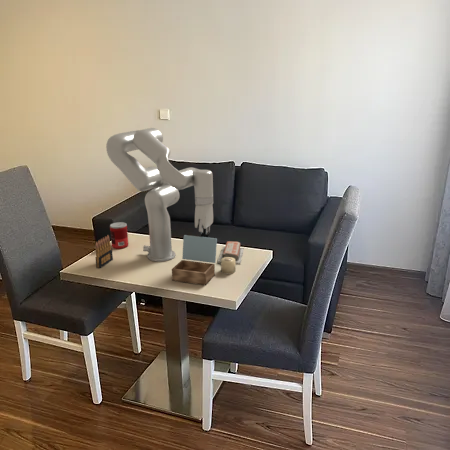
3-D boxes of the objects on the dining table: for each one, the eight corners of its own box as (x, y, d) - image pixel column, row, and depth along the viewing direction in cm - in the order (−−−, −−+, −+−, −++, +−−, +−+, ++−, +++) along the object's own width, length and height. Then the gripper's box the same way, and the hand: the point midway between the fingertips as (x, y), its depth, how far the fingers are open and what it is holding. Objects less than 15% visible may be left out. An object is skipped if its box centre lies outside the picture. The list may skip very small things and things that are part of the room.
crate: (172, 280, 190) (171, 269, 189) (182, 271, 199) (182, 259, 198) (205, 285, 186) (205, 273, 184) (214, 275, 195) (214, 264, 193)
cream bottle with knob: (219, 272, 197) (218, 261, 195) (223, 267, 202) (223, 255, 201) (232, 274, 195) (232, 262, 194) (237, 269, 201) (237, 257, 199)
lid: (183, 235, 197) (184, 235, 198) (182, 259, 198) (183, 258, 199) (216, 238, 192) (217, 238, 193) (214, 263, 193) (215, 262, 194)
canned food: (131, 244, 230) (129, 223, 227) (121, 250, 223) (119, 228, 220) (118, 242, 233) (116, 221, 230) (108, 248, 226) (106, 226, 223)
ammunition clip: (109, 259, 213) (107, 233, 209) (113, 259, 213) (110, 234, 209) (96, 268, 203) (93, 241, 200) (99, 268, 203) (97, 242, 199)
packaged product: (222, 240, 222) (243, 240, 221) (222, 249, 224) (243, 250, 222) (217, 254, 205) (240, 254, 204) (217, 264, 207) (240, 265, 205)
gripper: (202, 195, 203) (203, 235, 209) (188, 204, 190) (190, 247, 196) (218, 196, 201) (219, 237, 207) (206, 205, 188) (207, 249, 193)
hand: (205, 242), depth 201 cm, fingers closed
